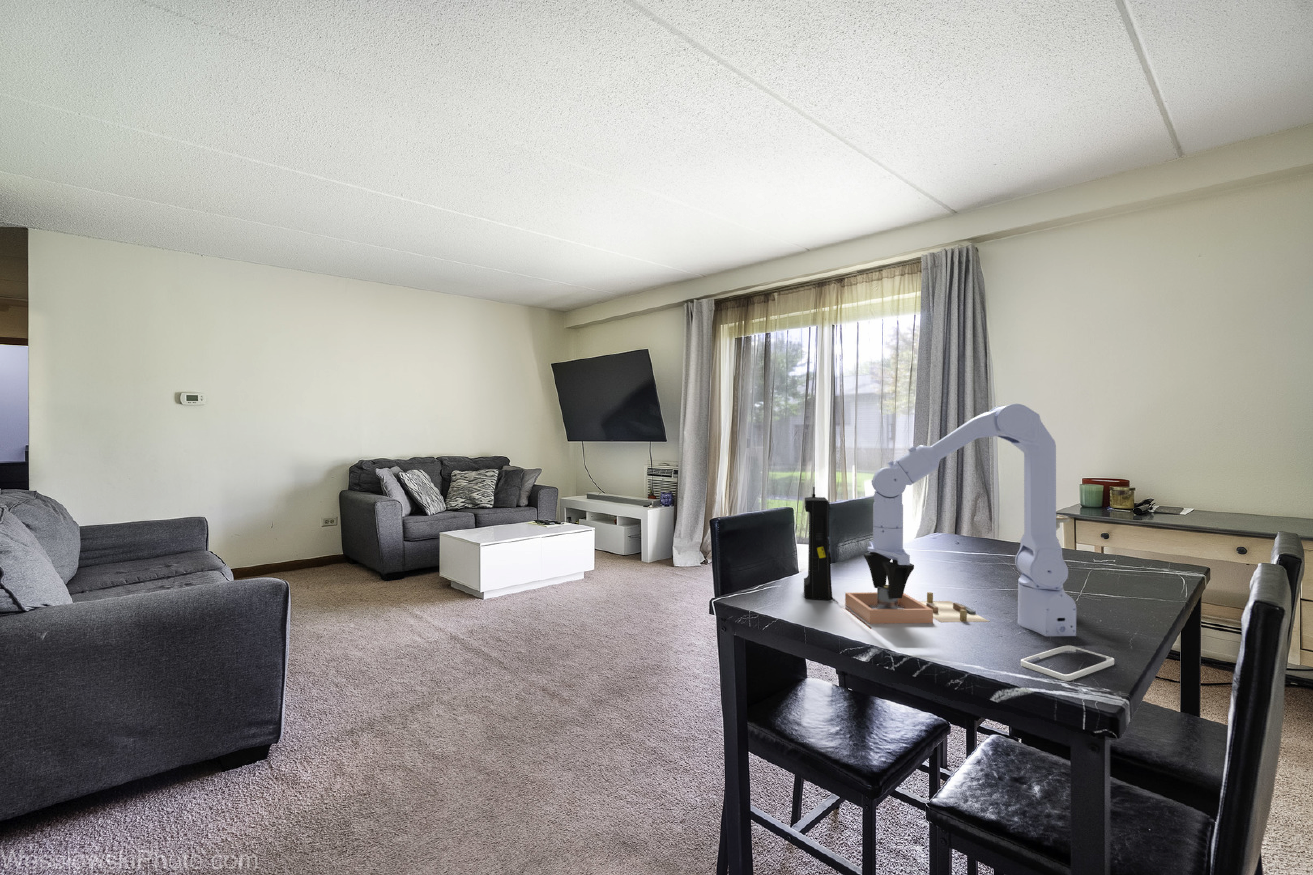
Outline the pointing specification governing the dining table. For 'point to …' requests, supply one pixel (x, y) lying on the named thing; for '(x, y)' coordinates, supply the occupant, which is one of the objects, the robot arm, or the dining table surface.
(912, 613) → the low rectangular frame
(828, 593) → the portable radio
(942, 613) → the checker cradle
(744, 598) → the dining table surface
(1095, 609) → the dining table surface
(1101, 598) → the dining table surface
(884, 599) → the battery cell
